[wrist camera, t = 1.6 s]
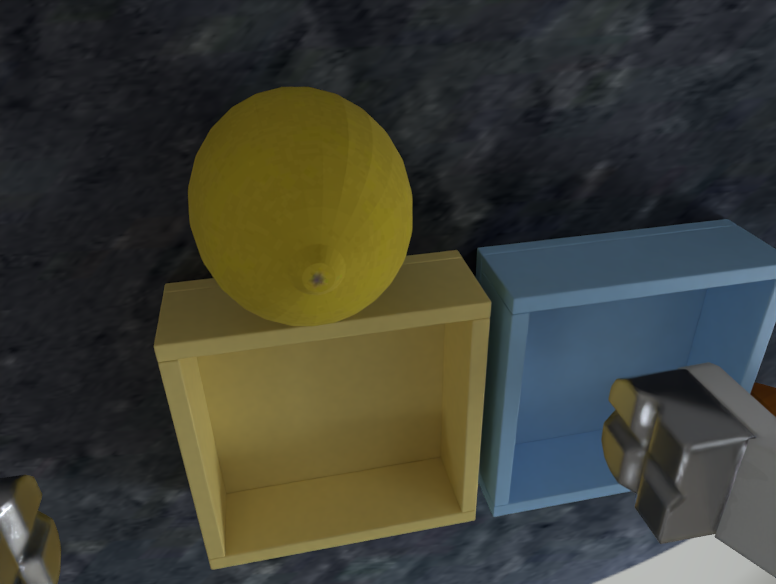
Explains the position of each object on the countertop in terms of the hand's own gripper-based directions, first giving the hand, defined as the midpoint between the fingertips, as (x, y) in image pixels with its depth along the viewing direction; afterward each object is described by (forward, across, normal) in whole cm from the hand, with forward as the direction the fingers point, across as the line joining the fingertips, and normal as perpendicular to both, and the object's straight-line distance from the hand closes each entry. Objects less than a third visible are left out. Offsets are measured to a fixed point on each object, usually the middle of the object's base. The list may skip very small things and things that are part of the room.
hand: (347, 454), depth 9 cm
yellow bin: (+13, -1, +9) cm, 15 cm away
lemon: (+13, 0, 0) cm, 13 cm away
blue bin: (+13, -11, +9) cm, 19 cm away
